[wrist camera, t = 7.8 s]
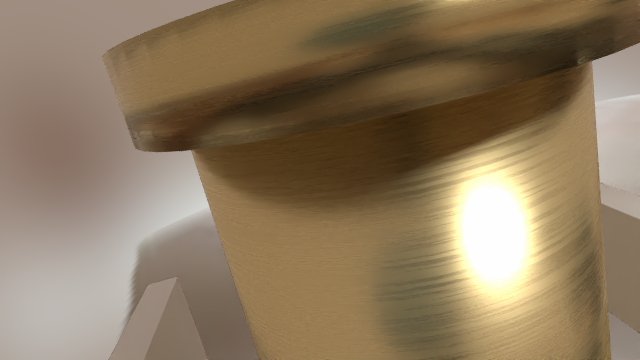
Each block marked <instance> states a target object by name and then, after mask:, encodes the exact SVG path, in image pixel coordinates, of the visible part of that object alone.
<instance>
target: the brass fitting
mask: <svg viewBox="0 0 640 360" xmlns="http://www.w3.org/2000/svg"><path fill="white" fill-rule="evenodd" d="M637 43H640V0H235V1H232V2H228V3H225V4H222V5H219V6H216V7H213V8H210V9H207V10H204V11H201V12H198V13H196V14H193V15H190V16H187V17H184V18H181V19H178V20H176V21H173V22H170V23H168V24H165V25H163V26H160V27H157V28H155V29H152V30H150V31H147V32H145V33H142V34H140V35H138V36H136V37H133V38H131V39H129V40H127V41H124V42H122V43H120V44H118V45H117V46H115V47H113V48H112V49H110V50H108V51H107V52H106V53H105V54H104V55H103V56H102V57H103V61H104V64H105V67H106V70H107V73H108V75H109V78H110V81H111V83H112V86H113V89H114V92H115V95H116V97H117V100H118V103H119V106H120V108H121V111H122V114H123V116H124V119H125V122H126V125H127V128H128V130H129V133H130V136H131V139H132V141H133V144H134V146H135V148H136V149H138V150H141V151H149V152H171V151H186V150H191V151H192V154H193V157H194V161H195V163H196V167H197V170H198V173H199V176H200V179H201V182H202V185H203V188H204V191H205V194H206V197H207V200H208V203H209V206H210V210H211V213H212V216H213V219H214V222H215V225H216V228H217V231H218V234H219V237H220V240H221V243H222V246H223V249H224V252H225V255H226V258H227V262H228V265H229V268H230V271H231V274H232V277H233V280H234V283H235V286H236V289H237V292H238V295H239V298H240V301H241V304H242V307H243V310H244V314H245V317H246V320H247V323H248V326H249V329H250V332H251V335H252V338H253V341H254V344H255V347H256V350H257V353H258V356H259V359H260V360H611V351H610V335H609V320H608V304H607V288H606V273H605V257H604V241H603V226H602V210H601V195H600V179H599V163H598V148H597V132H596V117H595V101H594V86H593V72H592V61H593V60H596V59H598V58H601V57H604V56H607V55H610V54H613V53H615V52H618V51H620V50H623V49H625V48H628V47H630V46H633V45H635V44H637Z"/></svg>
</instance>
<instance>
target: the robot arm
mask: <svg viewBox="0 0 640 360" xmlns="http://www.w3.org/2000/svg"><path fill="white" fill-rule="evenodd" d="M600 195H601V210H602V226H603V241H604V257H605V273H606V288H607V304H608V311H609V312H611V313H612V314H614V315H615V316H616V317H618V318H619V319H621V320H622V321H623V322H625V323H626V324H628V325H629V326H630V327H632V328H633V329H634V330H636V331H637V332H639V333H640V196H637V195H634V194H631V193H629V192H626V191H623V190H620V189H617V188H614V187H612V186H609V185H606V184H603V183H600ZM109 360H208V358H207V355H206V353H205V350H204V347H203V344H202V342H201V339H200V336H199V333H198V331H197V328H196V325H195V322H194V320H193V317H192V314H191V312H190V309H189V306H188V303H187V301H186V298H185V295H184V292H183V290H182V287H181V284H180V281H179V279H178V276H177V277H174V278H170V279H166V280H163V281H159V282H155V283H152V284H148V286H147V288H146V290H145V291H144V293H143V295H142V297H141V299H140V301H139V303H138V305H137V307H136V309H135V310H134V312H133V314H132V316H131V318H130V320H129V322H128V324H127V326H126V328H125V330H124V331H123V333H122V335H121V337H120V339H119V341H118V343H117V345H116V347H115V349H114V350H113V352H112V354H111V356H110V358H109Z"/></svg>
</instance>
